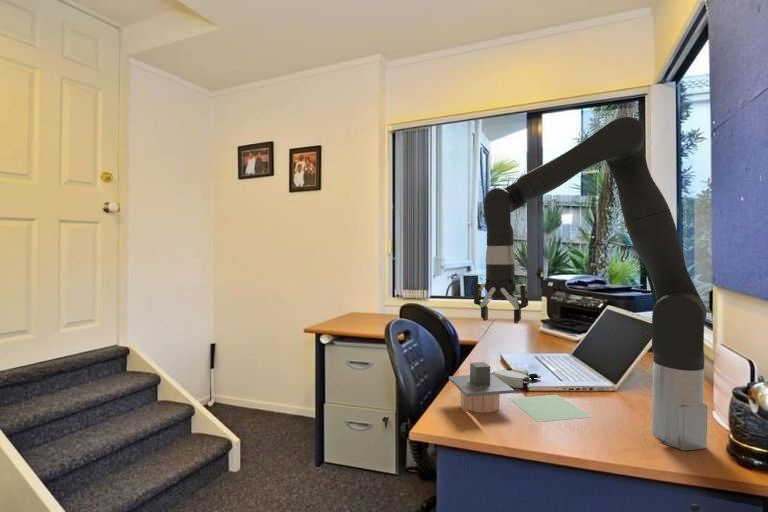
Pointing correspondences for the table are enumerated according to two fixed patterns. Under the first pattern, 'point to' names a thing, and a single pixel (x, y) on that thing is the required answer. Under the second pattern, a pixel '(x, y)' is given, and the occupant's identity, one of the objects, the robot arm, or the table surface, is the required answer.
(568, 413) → the mat
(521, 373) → the robot toy
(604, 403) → the table surface
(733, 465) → the table surface
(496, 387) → the lid
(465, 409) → the bowl
